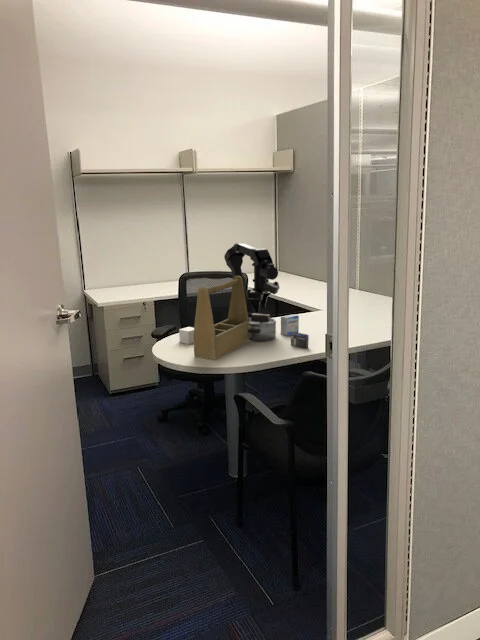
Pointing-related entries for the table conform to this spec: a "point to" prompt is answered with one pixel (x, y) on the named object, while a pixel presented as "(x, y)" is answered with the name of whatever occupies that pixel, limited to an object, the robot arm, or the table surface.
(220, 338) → the caddy
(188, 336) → the white cube
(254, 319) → the lid
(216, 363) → the table surface
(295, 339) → the mini dv tape
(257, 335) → the pot
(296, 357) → the table surface
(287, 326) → the medicine box
